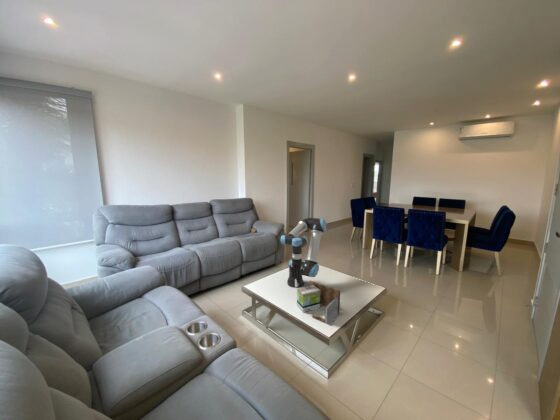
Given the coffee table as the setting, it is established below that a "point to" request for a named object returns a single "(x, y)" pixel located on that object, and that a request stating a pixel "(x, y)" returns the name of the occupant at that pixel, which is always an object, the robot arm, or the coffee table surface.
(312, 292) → the tea box
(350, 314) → the coffee table surface
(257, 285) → the coffee table surface
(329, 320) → the bookend
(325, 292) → the shelf wall
